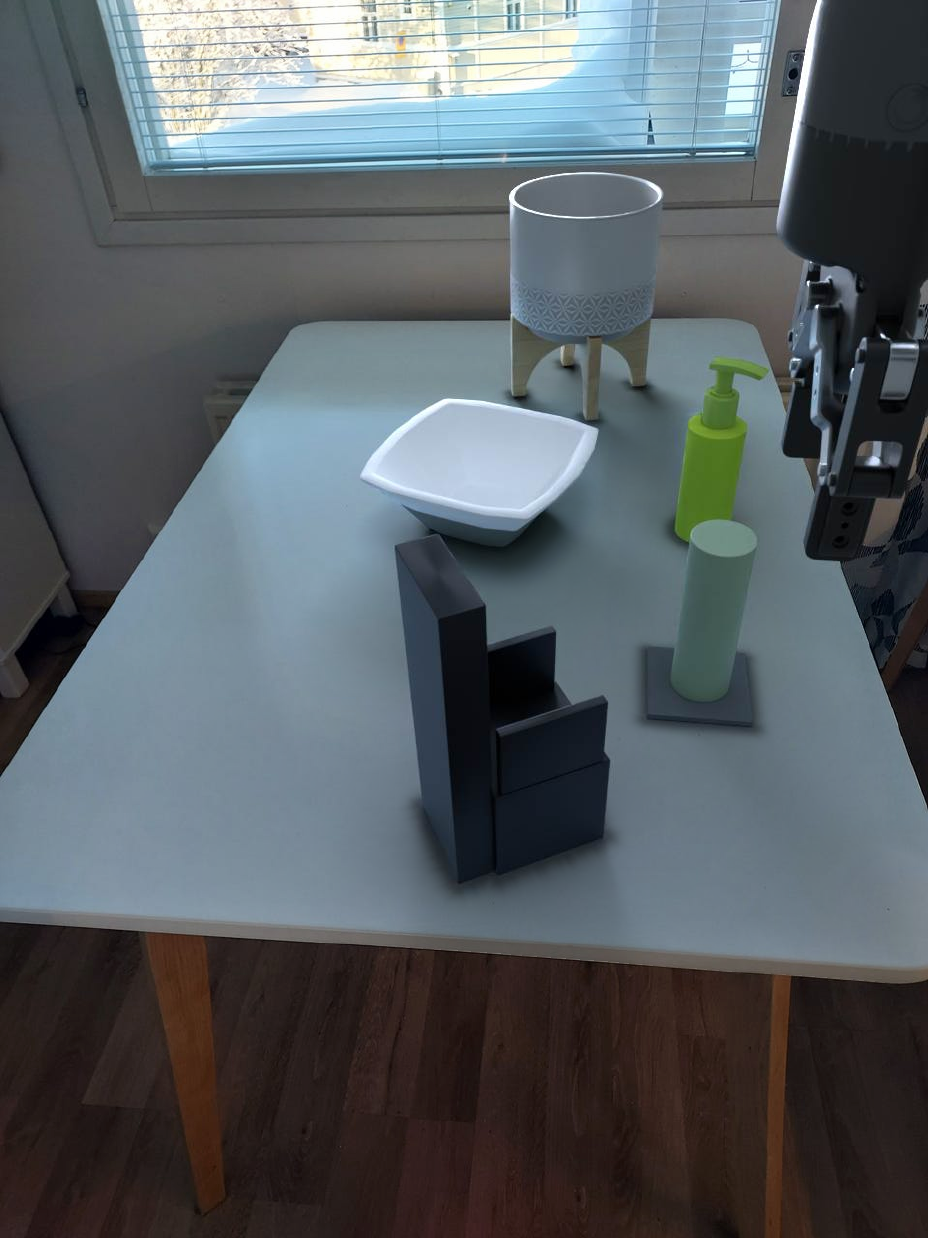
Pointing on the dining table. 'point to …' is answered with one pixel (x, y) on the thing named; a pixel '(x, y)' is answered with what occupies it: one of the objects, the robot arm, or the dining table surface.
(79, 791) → the dining table surface
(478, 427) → the bowl
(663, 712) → the coaster
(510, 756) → the navy chair block
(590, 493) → the dining table surface
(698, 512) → the soap dispenser
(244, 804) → the dining table surface
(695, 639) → the green cylinder
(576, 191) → the planter
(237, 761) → the dining table surface
